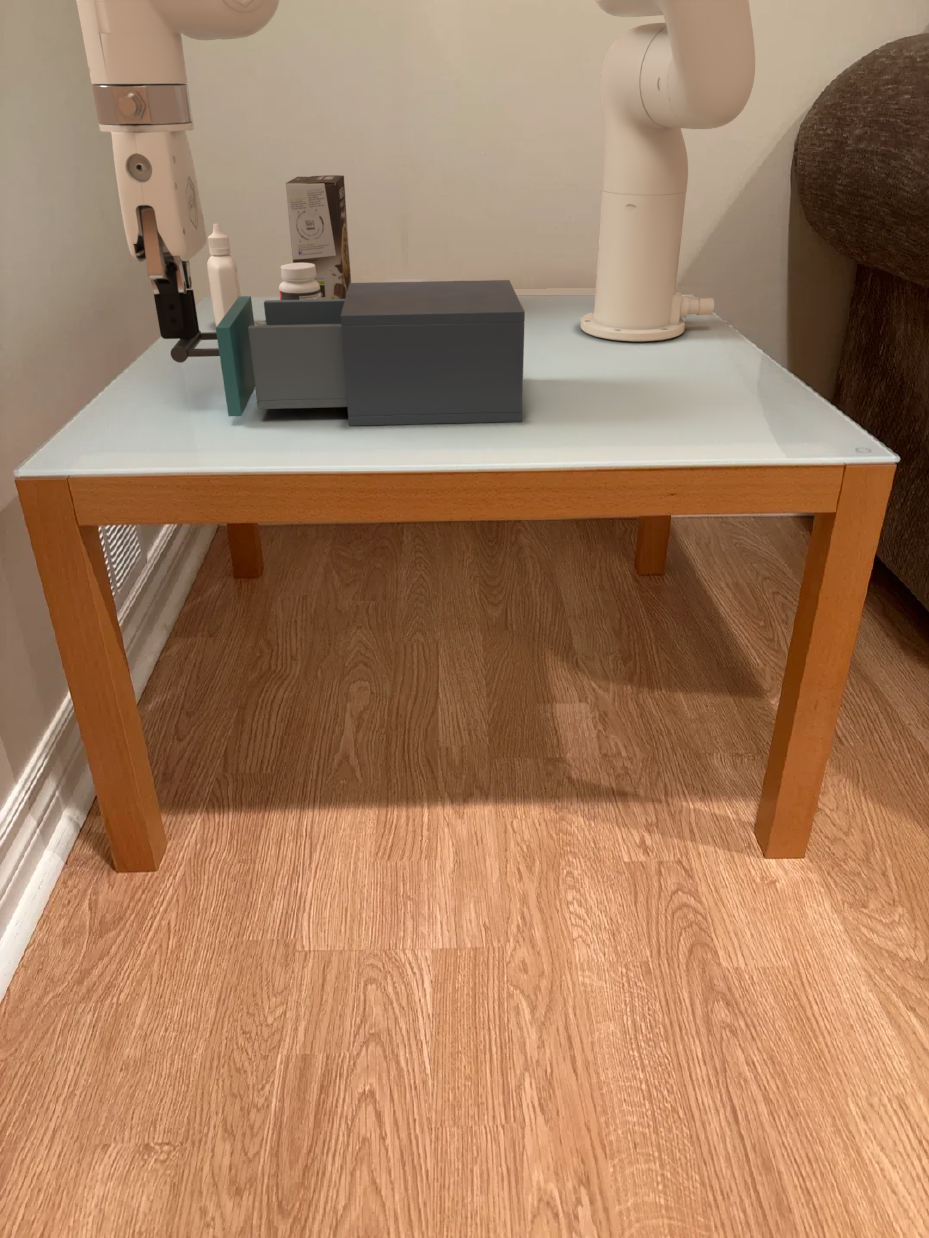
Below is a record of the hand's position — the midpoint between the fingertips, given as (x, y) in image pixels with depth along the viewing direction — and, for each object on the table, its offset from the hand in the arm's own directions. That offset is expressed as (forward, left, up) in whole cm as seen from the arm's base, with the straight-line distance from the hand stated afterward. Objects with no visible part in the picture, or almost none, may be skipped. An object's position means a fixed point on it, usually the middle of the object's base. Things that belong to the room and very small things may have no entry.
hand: (180, 336), depth 85 cm
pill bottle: (-8, -25, -7) cm, 27 cm away
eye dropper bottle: (+2, -32, -7) cm, 33 cm away
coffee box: (-10, -40, -7) cm, 42 cm away
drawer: (-9, 0, -6) cm, 11 cm away
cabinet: (-23, 0, -7) cm, 24 cm away
